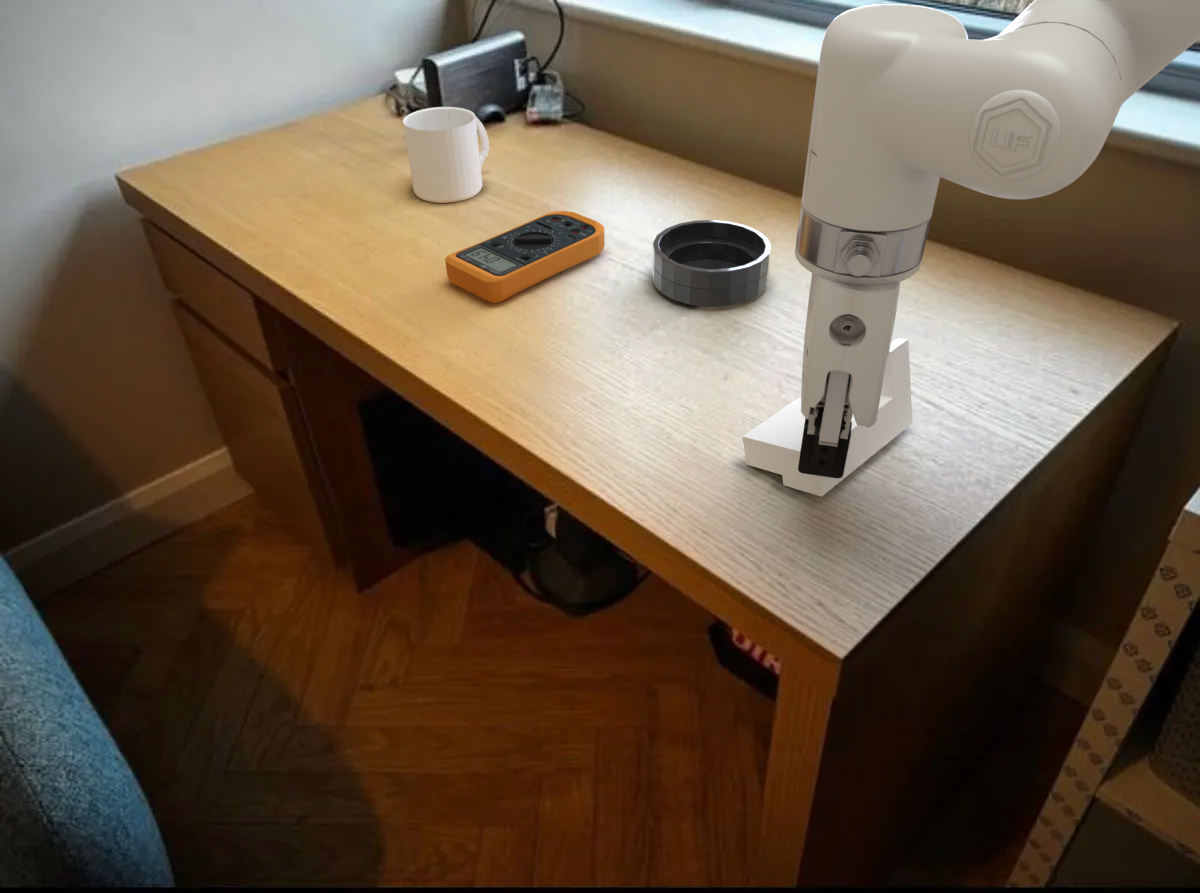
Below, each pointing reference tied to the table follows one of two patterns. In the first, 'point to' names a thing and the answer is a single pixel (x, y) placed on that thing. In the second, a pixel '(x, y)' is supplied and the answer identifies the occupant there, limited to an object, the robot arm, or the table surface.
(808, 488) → the bracket
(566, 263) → the multimeter
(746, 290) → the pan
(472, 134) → the mug
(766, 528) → the table surface
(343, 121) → the table surface
